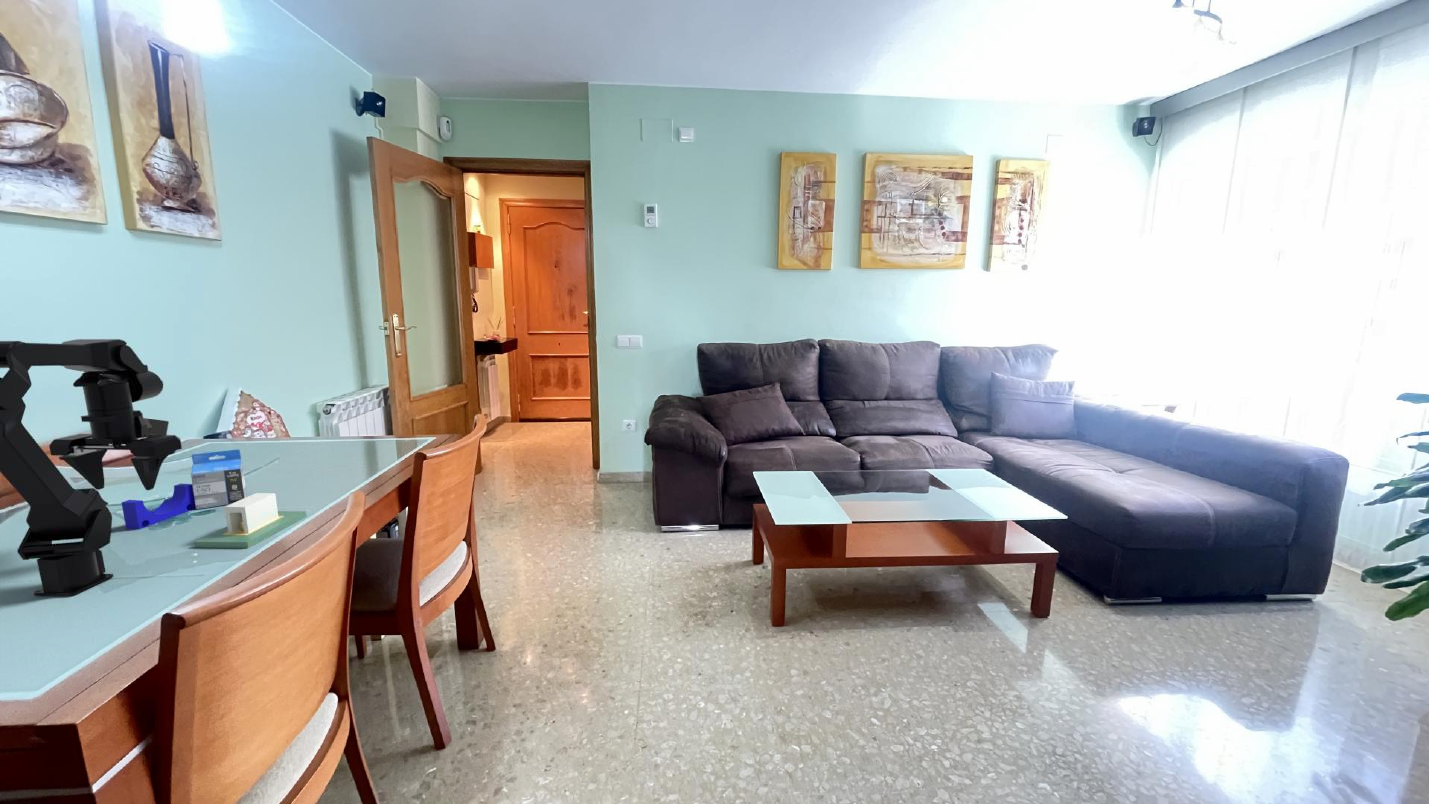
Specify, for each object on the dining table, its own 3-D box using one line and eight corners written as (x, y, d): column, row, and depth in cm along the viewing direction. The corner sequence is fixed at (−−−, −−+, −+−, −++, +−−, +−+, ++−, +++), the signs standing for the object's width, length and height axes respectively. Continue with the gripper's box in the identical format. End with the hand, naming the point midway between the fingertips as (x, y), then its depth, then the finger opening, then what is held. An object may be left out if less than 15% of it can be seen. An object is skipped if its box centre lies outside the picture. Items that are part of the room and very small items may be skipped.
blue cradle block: (178, 508, 128) (174, 483, 127) (196, 509, 127) (192, 484, 126) (119, 529, 116) (114, 502, 115) (139, 530, 116) (134, 503, 115)
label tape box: (195, 510, 126) (187, 458, 124) (198, 504, 130) (190, 453, 127) (245, 503, 131) (238, 452, 129) (247, 497, 134) (240, 448, 132)
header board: (248, 548, 108) (245, 532, 108) (196, 547, 108) (193, 531, 107) (306, 516, 124) (304, 502, 123) (261, 515, 124) (259, 502, 123)
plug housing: (248, 533, 112) (244, 507, 111) (228, 532, 112) (224, 506, 111) (278, 517, 120) (275, 493, 119) (259, 517, 120) (256, 493, 119)
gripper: (201, 400, 110) (212, 476, 113) (105, 399, 110) (119, 475, 112) (145, 412, 99) (159, 495, 102) (38, 410, 99) (55, 494, 102)
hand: (125, 489), depth 105 cm, fingers open, 9 cm apart
